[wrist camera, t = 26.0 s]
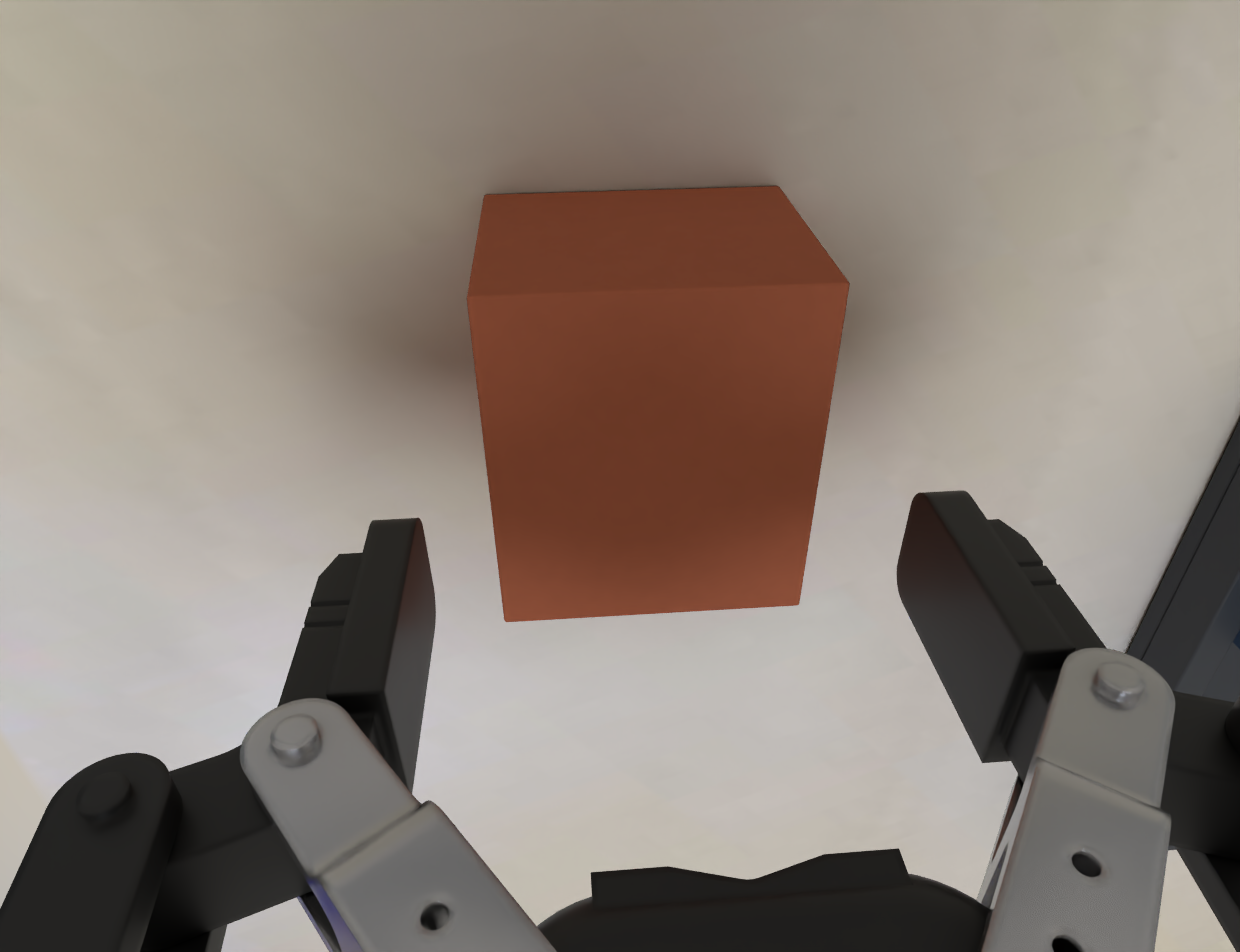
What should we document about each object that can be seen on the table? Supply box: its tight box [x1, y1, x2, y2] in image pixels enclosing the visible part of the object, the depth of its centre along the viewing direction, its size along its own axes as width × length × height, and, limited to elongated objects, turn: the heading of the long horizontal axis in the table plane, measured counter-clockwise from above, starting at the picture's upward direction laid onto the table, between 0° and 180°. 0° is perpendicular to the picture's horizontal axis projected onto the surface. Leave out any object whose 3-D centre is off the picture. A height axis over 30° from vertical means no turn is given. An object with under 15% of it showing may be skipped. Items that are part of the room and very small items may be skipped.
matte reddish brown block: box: [467, 186, 849, 622], centre depth 17 cm, size 7×6×5 cm
